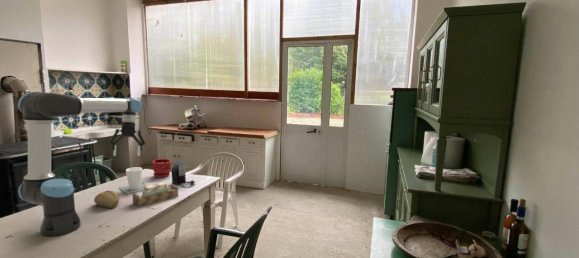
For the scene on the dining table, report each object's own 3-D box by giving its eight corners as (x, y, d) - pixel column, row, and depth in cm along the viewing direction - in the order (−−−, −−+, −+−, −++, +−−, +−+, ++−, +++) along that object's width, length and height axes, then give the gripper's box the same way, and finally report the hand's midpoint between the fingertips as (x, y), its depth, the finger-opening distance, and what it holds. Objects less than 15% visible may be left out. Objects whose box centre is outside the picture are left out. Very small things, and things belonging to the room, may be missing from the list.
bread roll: (105, 200, 173) (104, 187, 172) (124, 204, 168) (123, 191, 167) (89, 206, 164) (88, 193, 163) (109, 210, 159) (108, 196, 158)
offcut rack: (137, 206, 164) (137, 196, 163) (132, 203, 169) (132, 193, 168) (178, 196, 182) (177, 186, 181) (172, 192, 187) (172, 184, 186)
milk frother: (173, 181, 210) (172, 161, 208) (196, 179, 214) (195, 160, 212) (170, 187, 196) (170, 166, 194) (195, 186, 200) (194, 165, 198)
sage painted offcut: (145, 197, 169) (145, 193, 168) (142, 195, 172) (142, 191, 171) (168, 191, 179) (168, 187, 179) (165, 189, 182) (165, 185, 181)
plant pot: (156, 179, 212) (155, 163, 210) (150, 175, 222) (150, 160, 220) (174, 176, 221) (173, 161, 219) (168, 172, 230) (167, 157, 229)
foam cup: (142, 189, 190) (141, 170, 188) (126, 191, 187) (124, 171, 185) (143, 184, 199) (142, 166, 197) (128, 186, 196) (127, 167, 194)
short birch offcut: (147, 192, 169) (146, 188, 169) (144, 190, 172) (143, 186, 172) (167, 187, 178) (166, 183, 177) (163, 185, 181) (163, 182, 180)
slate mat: (127, 194, 182) (127, 193, 182) (118, 188, 192) (118, 187, 192) (151, 188, 193) (151, 188, 193) (142, 183, 203) (142, 182, 203)
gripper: (147, 124, 194) (145, 156, 192) (104, 121, 176) (102, 155, 174) (151, 123, 189) (149, 155, 186) (107, 119, 171) (105, 155, 169)
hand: (126, 155), depth 180 cm, fingers open, 13 cm apart
